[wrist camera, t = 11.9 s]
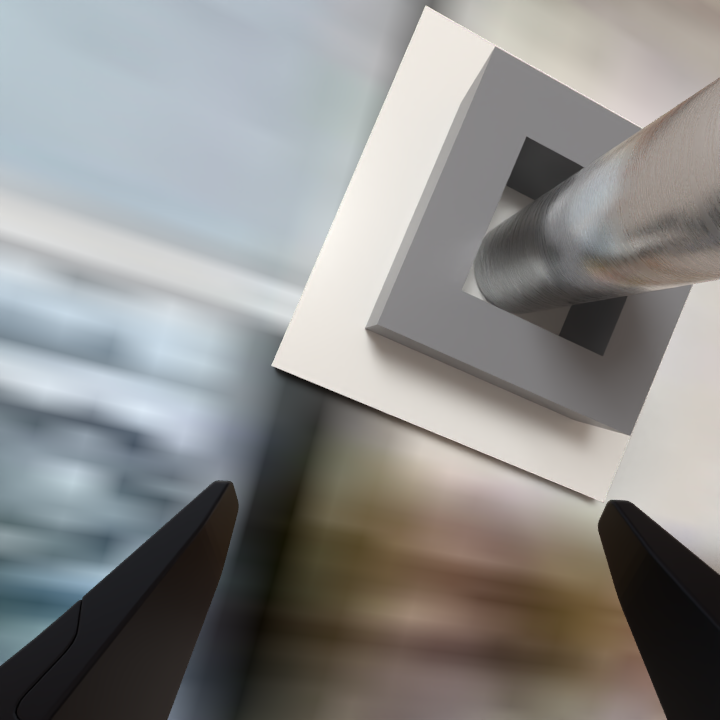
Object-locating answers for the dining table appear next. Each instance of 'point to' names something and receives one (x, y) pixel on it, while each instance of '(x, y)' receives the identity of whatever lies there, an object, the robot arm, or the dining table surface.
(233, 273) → the dining table surface
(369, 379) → the mount
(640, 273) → the grey cylindrical piece
